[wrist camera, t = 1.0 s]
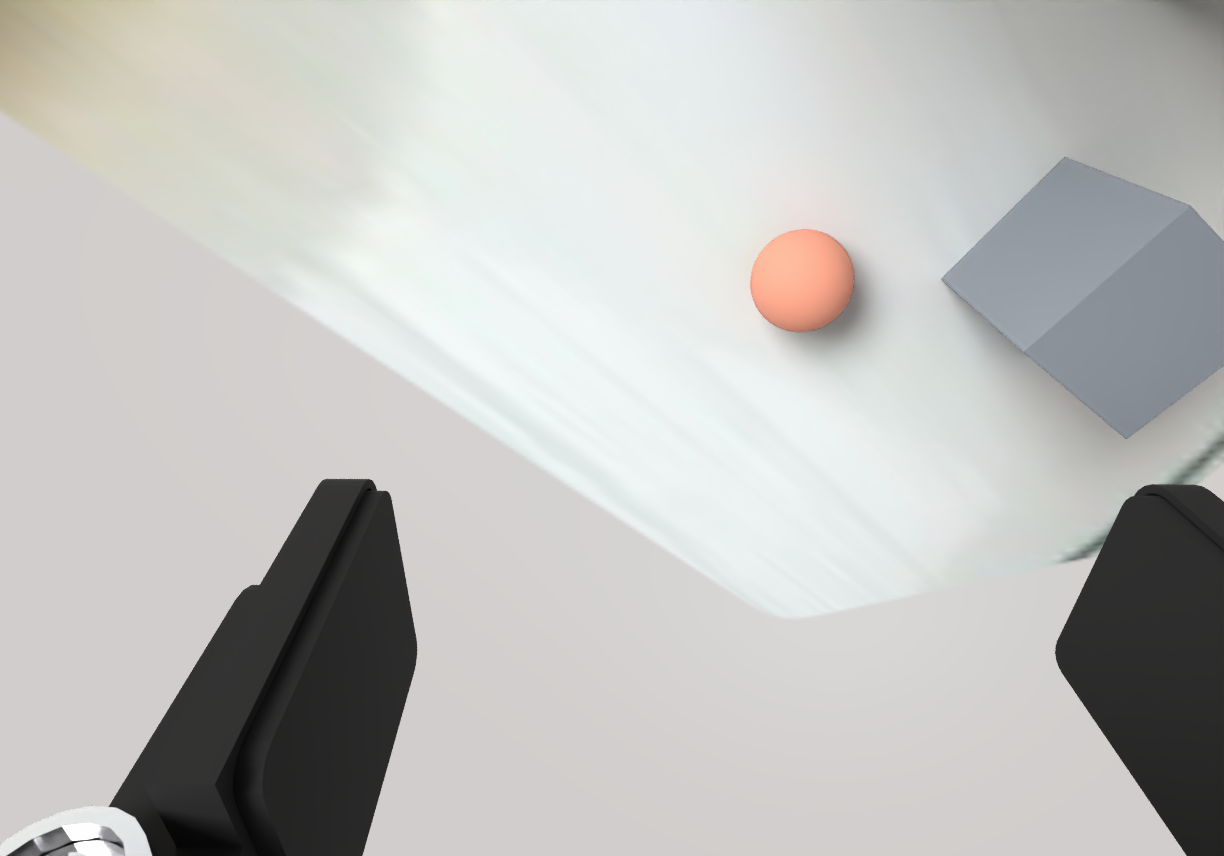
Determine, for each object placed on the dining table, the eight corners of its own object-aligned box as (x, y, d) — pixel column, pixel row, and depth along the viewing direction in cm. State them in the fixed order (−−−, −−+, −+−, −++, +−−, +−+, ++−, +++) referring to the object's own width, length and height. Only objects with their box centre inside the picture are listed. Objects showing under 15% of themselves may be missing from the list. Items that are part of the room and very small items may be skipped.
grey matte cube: (1064, 157, 35) (1190, 205, 27) (1153, 247, 37) (1290, 314, 30) (941, 279, 38) (1023, 352, 31) (1030, 354, 41) (1125, 439, 33)
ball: (788, 197, 36) (813, 226, 31) (857, 253, 37) (890, 289, 33) (723, 274, 38) (738, 312, 34) (791, 325, 39) (814, 366, 35)
